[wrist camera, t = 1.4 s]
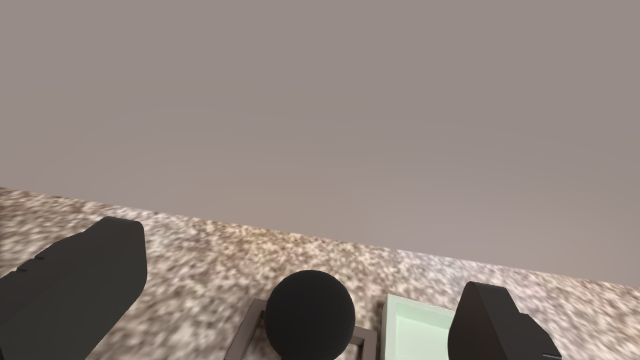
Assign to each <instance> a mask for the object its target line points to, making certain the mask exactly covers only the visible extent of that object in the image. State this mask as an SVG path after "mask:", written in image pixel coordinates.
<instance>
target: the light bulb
mask: <svg viewBox="0 0 640 360" xmlns="http://www.w3.org/2000/svg"><path fill="white" fill-rule="evenodd" d="M264 322H265V329H266V334H267V337H268V339H269V341H270V343H271V345H272V347H273V348H274V350H275V351H276V352H277V353H278V355H280V356H281V358H282V360H334V359H336V358H337V357H338V356H339V355H340V354H342V352H343V351H344V350H345V349H346V347H347V345H348V344H349V342H350V340H351V338H352V335H353V331H354V327H355V309H354V304H353V301H352V299H351V297H350V294H349V293H348V291H347V289H346V288H345V287H344V286H343V285H342V284H341V282H340V281H338V280H337V279H336V278H335V277H333V276H331V275H329V274H328V273H325V272H322V271H317V270H304V271H299V272H296V273H293V274H291V275H289V276H288V277H286V278H284V279H283V280H282V281H281V282H280V283H279V284H278V285H277V286H276V287H275V288H274V290H273V291H272V293H271V295H270V297H269V299H268V301H267V304H266V309H265V315H264Z"/></svg>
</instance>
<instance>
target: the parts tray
mask: <svg viewBox="0 0 640 360" xmlns="http://www.w3.org/2000/svg"><path fill="white" fill-rule="evenodd" d="M454 315H455V311H452V310H448V309H444V308H440V307H436V306H433V305H429V304H425V303H421V302H417V301H414V300H410V299H406V298H402V297H399V296H395V295H391V294H388V295H387V298H386V301H385V304H384V307H383V310H382V325H381V341H380V358H379V360H449V358H448V349H447V342H448V333H449V329H450V326H451V324H452V321H453V318H454Z"/></svg>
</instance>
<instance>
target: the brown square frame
mask: <svg viewBox="0 0 640 360" xmlns="http://www.w3.org/2000/svg"><path fill="white" fill-rule="evenodd" d="M266 304H267V301H263V300H260V299H256V298H255V299H254V301H253V303H252V305H251V307H250V309H249V311H248V313H247V315H246V317H245V319H244V321H243V323H242V325H241V327H240V329H239V331H238V333H237V335H236V337H235V339H234V341H233V343H232V345H231V347H230V349H229V351H228V353H227V355H226V357H225V359H224V360H242V359H243V357H244V354H245V352H246V350H247V348H248V345H249V343H250V341H251V339H252V336H253V334H254V332H255V330H256V327H257V325H258V323H259V321H260V318H263V319H264V315H265V309H266ZM349 343H352V344H355V345H359V346H362V354H361V360H375V358H376V345H377V332H375V331H372V330H368V329H365V328H361V327H357V326H355V327H354V331H353V335H352V338H351V340H350V342H349Z"/></svg>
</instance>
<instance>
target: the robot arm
mask: <svg viewBox="0 0 640 360" xmlns="http://www.w3.org/2000/svg"><path fill="white" fill-rule="evenodd" d="M146 280H147V260H146V248H145V236H144V228H143V225H142V224H141V223H140V222H139V221H133V220H128V219H122V218H116V217H111V216H107V217H104V218H103V219H101V220H100V221H98V222H97V223H95V224H94V225H92V226H91V227H90V228H88V229H87V230H85V231H84V232H80V233H78V234H75V235H73V236H70V237H67V238H65V239H62V240H60V241H57V242H55V243H54V244H52V245H51V246H49V247H48V248H46V249H45V250H43V251H42V252H40V253H39V254H37V255H36V256H35V258H34V259H30V260H28V261H27V262H25V263H24V264H22V265H21V266H19V267H18V268H17V270H16V271H12V272H10V273H9V274H7V275H6V276H4V277H3V278H1V279H0V360H84V359H85V358H86V357H87V356H88V355H89V354H90V352H91V351H92V350H93V349H94V348H95V347H96V346H97V344H98V343H99V342H100V341H101V340H102V339H103V338H104V336H105V335H106V334H107V333H108V332H109V331H110V329H111V328H112V327H113V326H114V325H115V324H116V323H117V321H118V320H119V319H120V318H121V317H122V316H123V315H124V313H125V312H126V311H127V310H128V309H129V308H130V307H131V305H132V304H133V303H134V302H135V301H136V300H137V298H138V297H139V296H140V294H141V293H142V291H143V289H144V286H145V284H146ZM447 349H448V358H449V360H562V358H561V357H562V356H561V354H560V352H559V351H558V349H557V347H556V346H555V344H554V343H553V341H552V339H551V338H550V336H549V334H548V333H547V332H546V331H545V330H544V329H543V328H542V327H541V326H539V325H538V324H537V323H536V322H535V321H534V320H533V319H532V318H531V317H530V316H529V315H528V314H524V313H520V312H519V310H518V309H517V307H516V305H515V303H514V301H513V299H512V298H511V296H510V294H509V292H508V291H507V289H506V288H504V287H501V286H495V285H489V284H484V283H478V282H473V281H469V282H468V283H467V284H466V286H465V288H464V290H463V293H462V296H461V298H460V301H459V304H458V307H457V310H456V312H455V315H454V318H453V321H452V324H451V326H450V329H449V333H448V342H447Z"/></svg>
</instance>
